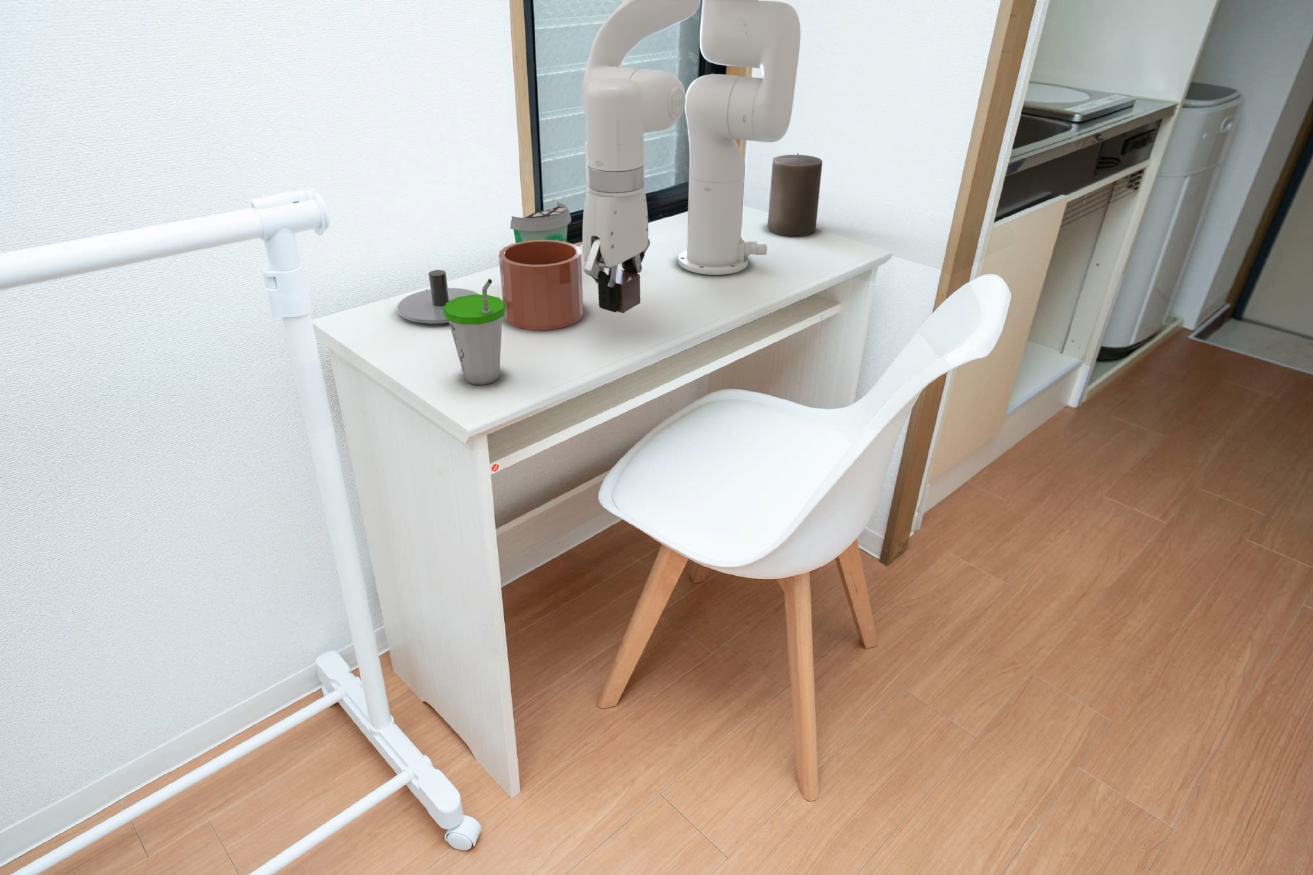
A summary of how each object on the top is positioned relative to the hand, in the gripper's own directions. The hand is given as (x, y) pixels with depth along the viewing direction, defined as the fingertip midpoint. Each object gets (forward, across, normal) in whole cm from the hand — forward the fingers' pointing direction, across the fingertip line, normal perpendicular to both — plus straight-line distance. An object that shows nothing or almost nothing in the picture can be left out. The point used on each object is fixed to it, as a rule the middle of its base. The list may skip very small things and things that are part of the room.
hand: (619, 302), depth 124 cm
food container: (+6, -15, -26) cm, 31 cm away
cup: (+4, +23, -6) cm, 24 cm away
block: (0, 0, 0) cm, 0 cm away
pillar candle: (+7, -61, -2) cm, 61 cm away
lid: (+4, +9, -28) cm, 30 cm away
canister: (+5, +1, -14) cm, 15 cm away
